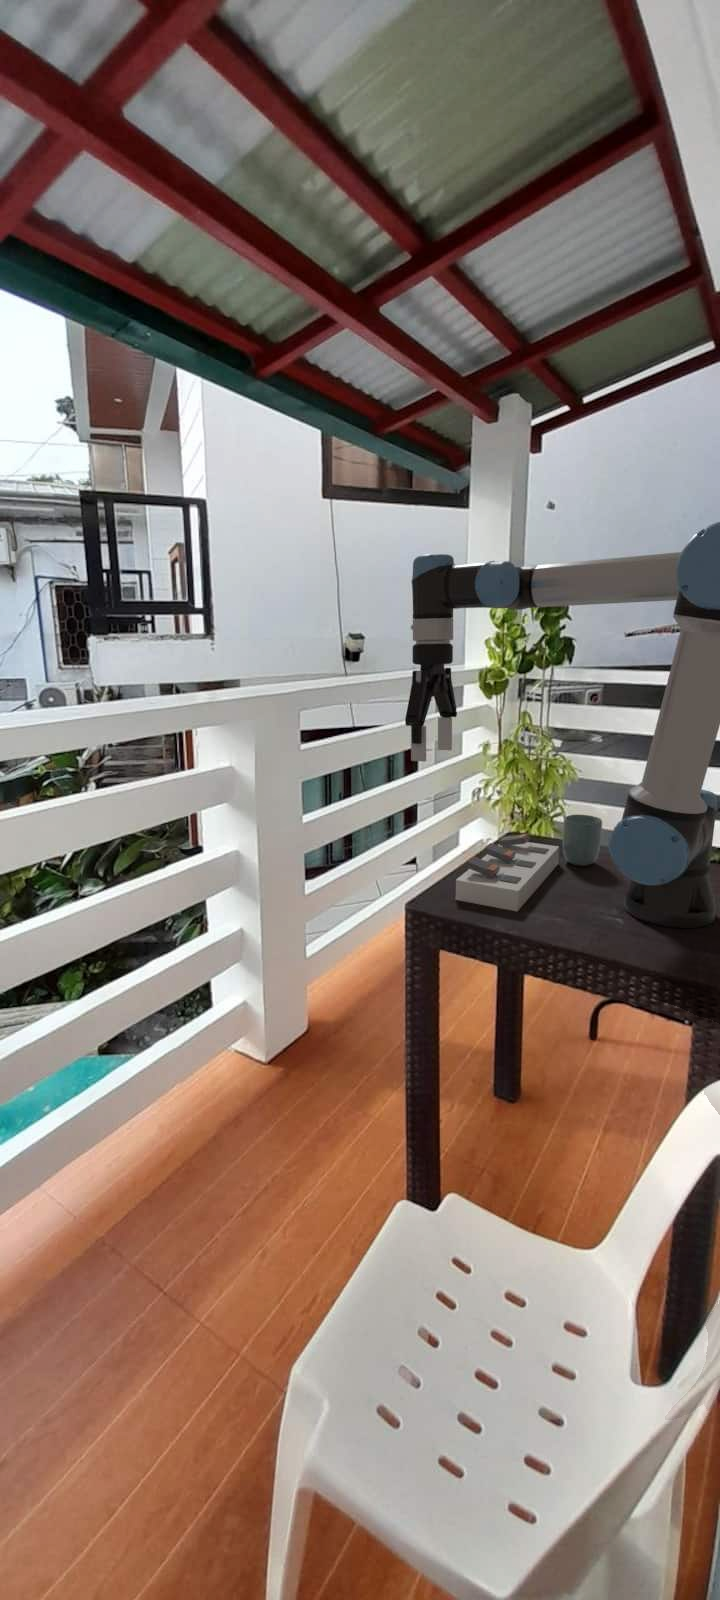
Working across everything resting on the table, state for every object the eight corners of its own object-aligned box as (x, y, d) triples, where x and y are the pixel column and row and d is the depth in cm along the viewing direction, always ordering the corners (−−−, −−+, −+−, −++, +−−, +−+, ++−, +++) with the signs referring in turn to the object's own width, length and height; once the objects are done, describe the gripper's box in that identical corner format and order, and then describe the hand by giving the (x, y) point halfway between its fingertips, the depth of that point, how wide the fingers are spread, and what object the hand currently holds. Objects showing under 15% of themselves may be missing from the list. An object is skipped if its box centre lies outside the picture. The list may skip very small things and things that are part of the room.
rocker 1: (498, 872, 135) (500, 866, 134) (492, 878, 132) (494, 872, 131) (472, 861, 137) (474, 855, 137) (465, 867, 134) (467, 860, 134)
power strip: (567, 853, 160) (568, 835, 159) (517, 911, 127) (518, 889, 126) (516, 845, 166) (517, 828, 165) (455, 899, 133) (456, 878, 132)
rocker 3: (529, 839, 151) (528, 833, 151) (525, 843, 148) (523, 837, 148) (505, 841, 154) (504, 835, 154) (500, 846, 151) (498, 840, 151)
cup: (586, 871, 148) (590, 826, 146) (554, 862, 154) (557, 818, 151) (605, 863, 153) (609, 819, 151) (573, 855, 159) (576, 812, 156)
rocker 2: (514, 858, 143) (516, 852, 143) (508, 863, 140) (510, 857, 140) (489, 847, 145) (490, 842, 145) (483, 852, 142) (485, 846, 142)
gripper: (438, 641, 143) (437, 744, 148) (385, 644, 121) (387, 764, 126) (473, 641, 139) (471, 746, 144) (425, 643, 118) (425, 767, 123)
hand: (432, 755), depth 135 cm, fingers open, 13 cm apart
